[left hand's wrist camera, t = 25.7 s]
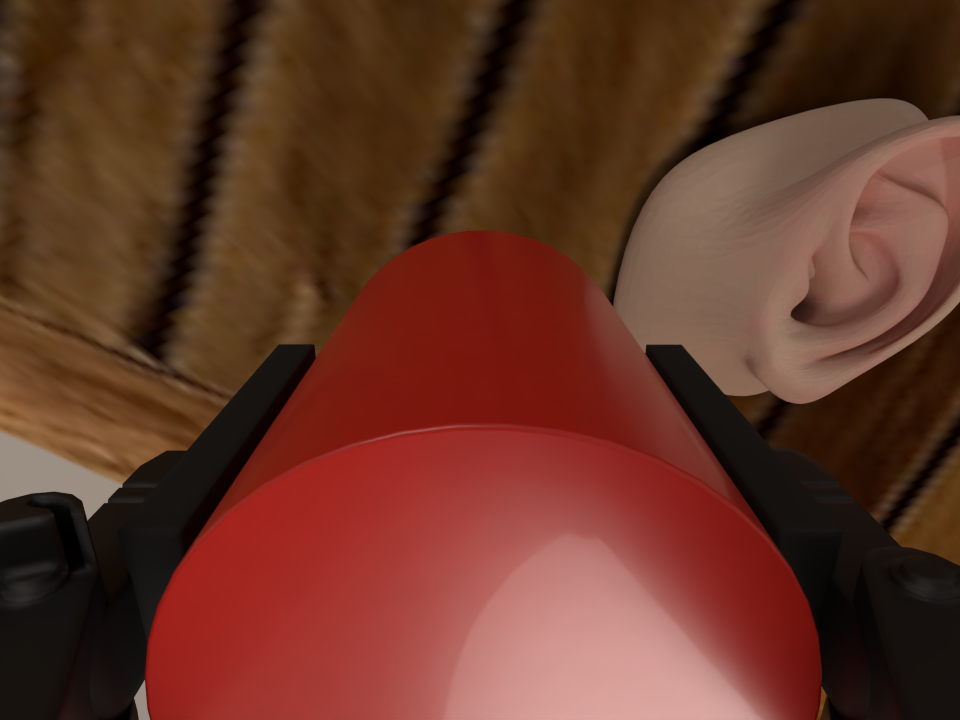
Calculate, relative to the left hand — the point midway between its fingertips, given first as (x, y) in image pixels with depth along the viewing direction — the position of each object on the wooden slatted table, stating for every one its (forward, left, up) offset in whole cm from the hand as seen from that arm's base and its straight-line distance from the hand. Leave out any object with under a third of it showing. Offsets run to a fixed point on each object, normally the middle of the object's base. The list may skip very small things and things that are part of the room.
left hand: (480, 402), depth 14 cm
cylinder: (0, 0, -2) cm, 2 cm away
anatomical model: (-4, +11, -13) cm, 18 cm away
